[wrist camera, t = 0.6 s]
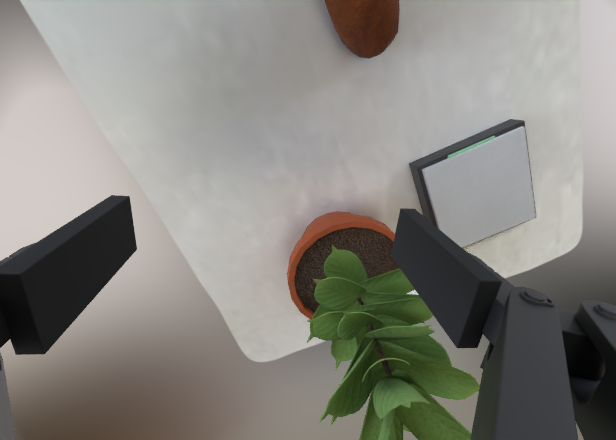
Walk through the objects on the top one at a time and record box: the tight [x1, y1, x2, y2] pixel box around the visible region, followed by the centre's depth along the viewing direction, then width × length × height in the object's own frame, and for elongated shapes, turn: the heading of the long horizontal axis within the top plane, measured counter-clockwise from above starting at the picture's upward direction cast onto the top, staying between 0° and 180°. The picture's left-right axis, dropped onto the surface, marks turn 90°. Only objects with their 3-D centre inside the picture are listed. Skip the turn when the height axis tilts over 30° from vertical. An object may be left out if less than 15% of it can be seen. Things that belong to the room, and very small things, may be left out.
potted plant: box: [287, 212, 480, 440], centre depth 30 cm, size 15×15×30 cm
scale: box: [409, 119, 536, 248], centre depth 41 cm, size 14×14×3 cm
